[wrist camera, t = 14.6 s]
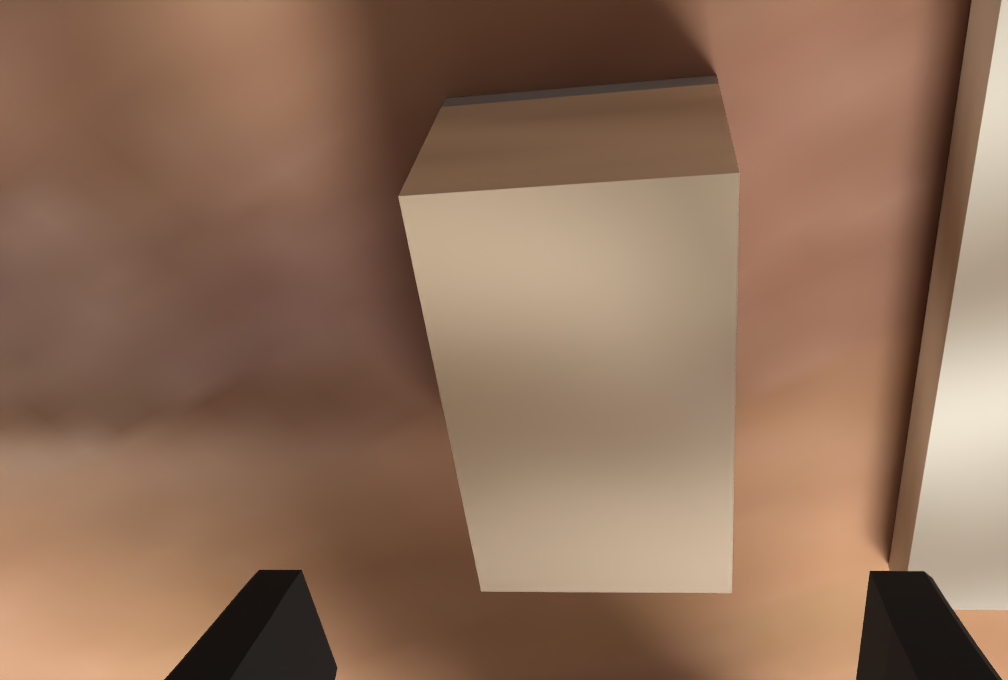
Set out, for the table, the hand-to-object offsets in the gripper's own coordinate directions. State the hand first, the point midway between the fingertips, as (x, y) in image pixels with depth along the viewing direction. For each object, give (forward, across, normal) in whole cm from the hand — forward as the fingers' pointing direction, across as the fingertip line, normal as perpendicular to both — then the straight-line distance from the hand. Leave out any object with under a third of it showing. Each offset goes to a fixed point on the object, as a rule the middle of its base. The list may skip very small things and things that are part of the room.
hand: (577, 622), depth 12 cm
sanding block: (+7, 0, -1) cm, 7 cm away
